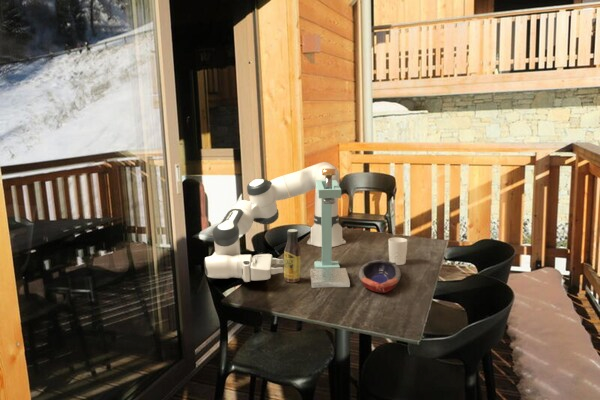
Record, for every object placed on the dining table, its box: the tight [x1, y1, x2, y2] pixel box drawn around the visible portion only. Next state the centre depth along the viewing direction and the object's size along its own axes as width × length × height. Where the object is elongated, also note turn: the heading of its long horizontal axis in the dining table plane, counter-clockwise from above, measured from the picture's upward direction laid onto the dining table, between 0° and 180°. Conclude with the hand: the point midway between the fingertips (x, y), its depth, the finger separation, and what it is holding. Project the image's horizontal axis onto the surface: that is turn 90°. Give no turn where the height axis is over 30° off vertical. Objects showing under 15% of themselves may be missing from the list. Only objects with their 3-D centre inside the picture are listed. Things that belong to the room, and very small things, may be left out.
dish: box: [358, 259, 402, 294], centre depth 188 cm, size 16×31×5 cm, turn 168°
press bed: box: [309, 267, 351, 289], centre depth 191 cm, size 16×14×2 cm
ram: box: [322, 168, 336, 204], centre depth 184 cm, size 5×5×12 cm
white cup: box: [388, 236, 408, 266], centre depth 210 cm, size 8×8×10 cm
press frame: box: [313, 180, 342, 269], centre depth 194 cm, size 27×10×36 cm, turn 0°
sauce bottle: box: [283, 228, 302, 284], centre depth 189 cm, size 6×6×20 cm
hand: (283, 265), depth 189 cm, fingers open, 8 cm apart
